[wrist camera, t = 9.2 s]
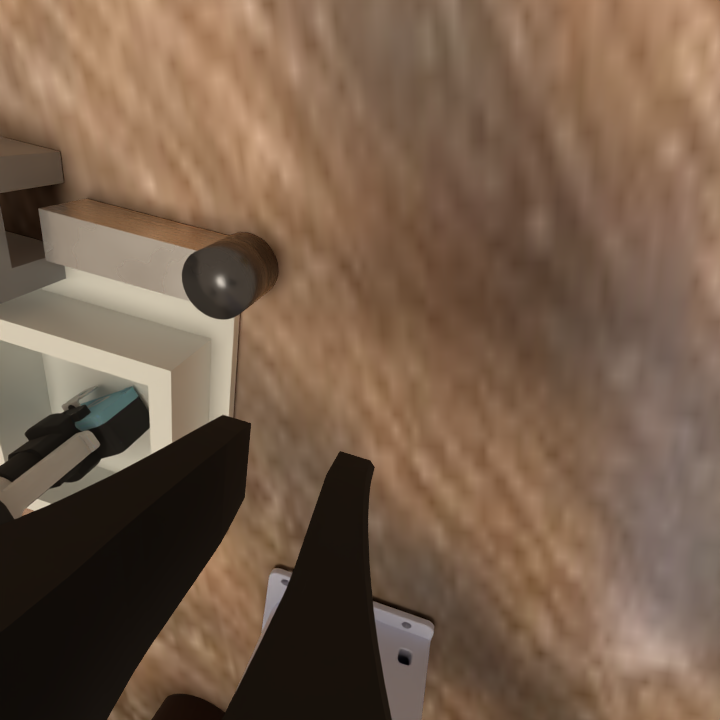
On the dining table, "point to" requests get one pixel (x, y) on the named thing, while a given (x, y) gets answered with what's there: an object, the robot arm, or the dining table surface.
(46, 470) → the push button
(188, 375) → the dock
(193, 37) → the dining table surface
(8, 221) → the dining table surface
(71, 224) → the pin
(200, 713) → the coffee mug
